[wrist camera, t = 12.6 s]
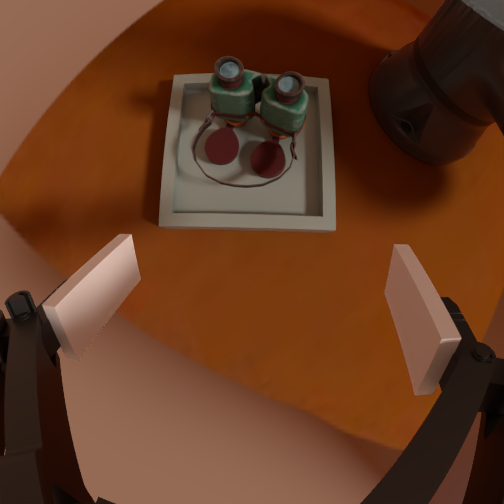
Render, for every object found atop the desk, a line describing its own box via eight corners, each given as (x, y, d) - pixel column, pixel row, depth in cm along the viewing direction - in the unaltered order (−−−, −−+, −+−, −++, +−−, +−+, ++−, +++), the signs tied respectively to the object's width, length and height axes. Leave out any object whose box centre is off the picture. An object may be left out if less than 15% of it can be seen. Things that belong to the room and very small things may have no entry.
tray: (323, 90, 31) (328, 78, 28) (328, 232, 30) (335, 230, 28) (178, 86, 31) (174, 75, 28) (165, 229, 30) (158, 226, 28)
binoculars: (161, 156, 19) (210, 36, 19) (193, 180, 30) (224, 91, 29) (293, 193, 20) (330, 65, 19) (281, 206, 30) (308, 114, 29)
